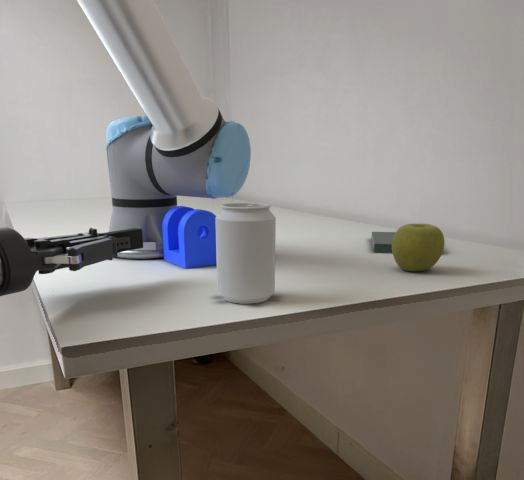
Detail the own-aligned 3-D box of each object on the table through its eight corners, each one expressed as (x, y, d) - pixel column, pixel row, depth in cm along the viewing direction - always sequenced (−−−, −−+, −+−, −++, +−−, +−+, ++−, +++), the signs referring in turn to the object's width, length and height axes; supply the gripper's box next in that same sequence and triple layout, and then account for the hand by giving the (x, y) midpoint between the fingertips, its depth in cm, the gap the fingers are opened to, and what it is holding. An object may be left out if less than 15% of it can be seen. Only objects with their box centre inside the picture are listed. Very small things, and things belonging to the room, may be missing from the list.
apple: (445, 275, 85) (450, 228, 82) (391, 274, 86) (395, 227, 83) (436, 266, 92) (441, 222, 89) (387, 264, 93) (391, 221, 90)
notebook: (373, 252, 104) (374, 243, 103) (371, 239, 119) (371, 231, 118) (439, 254, 102) (440, 245, 102) (428, 240, 117) (429, 232, 116)
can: (218, 291, 76) (215, 200, 71) (272, 290, 76) (273, 200, 72) (216, 305, 69) (213, 206, 64) (276, 305, 69) (278, 206, 65)
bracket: (185, 268, 90) (182, 211, 87) (164, 260, 96) (161, 207, 93) (276, 257, 99) (276, 205, 96) (251, 250, 106) (251, 201, 103)
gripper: (-41, 289, 66) (110, 258, 85) (25, 305, 60) (173, 268, 78) (-53, 226, 64) (105, 208, 82) (14, 235, 57) (171, 214, 76)
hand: (138, 237), depth 80 cm, fingers closed
